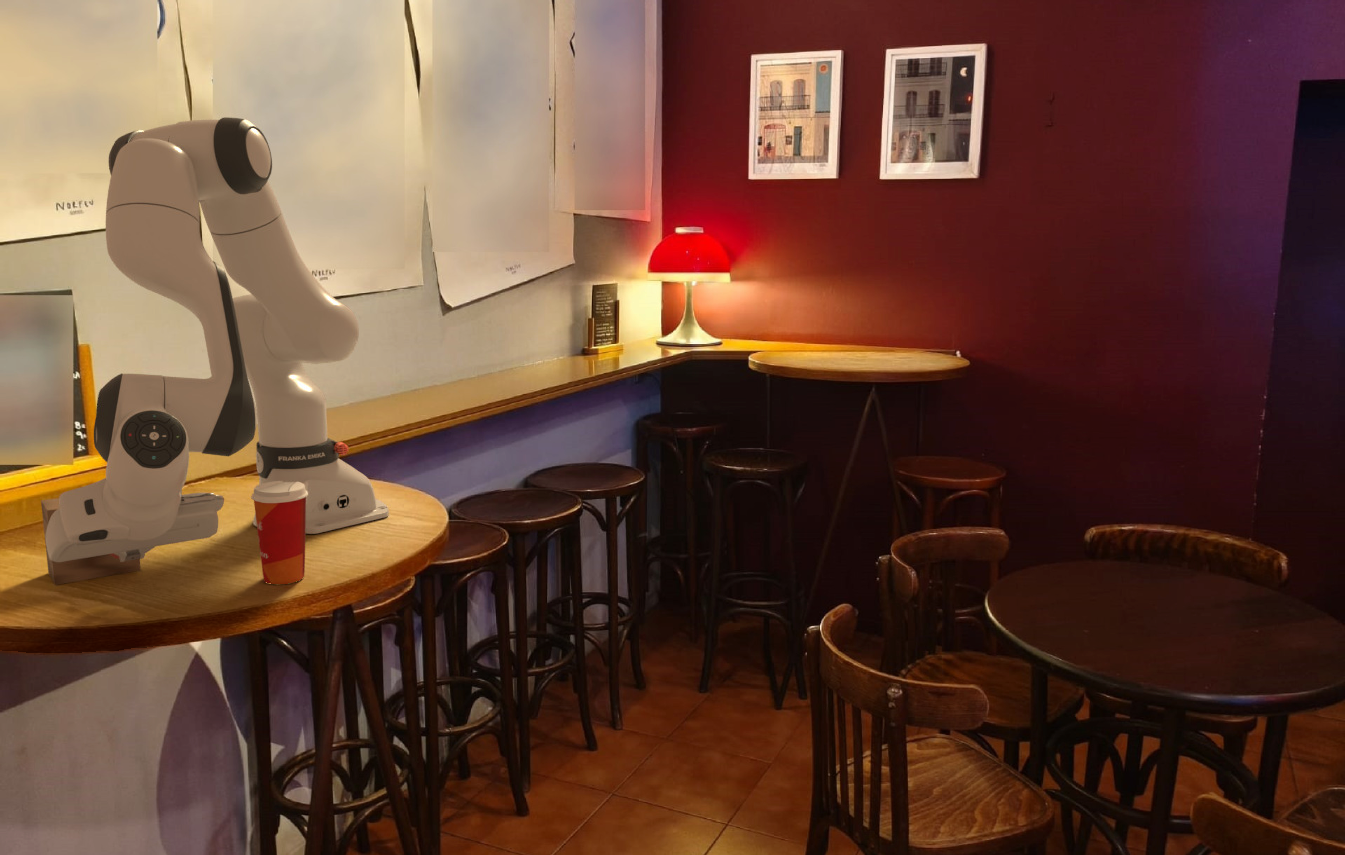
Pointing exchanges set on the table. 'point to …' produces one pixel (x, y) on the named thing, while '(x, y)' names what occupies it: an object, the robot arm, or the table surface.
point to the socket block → (84, 566)
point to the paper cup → (281, 530)
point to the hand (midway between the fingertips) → (130, 555)
